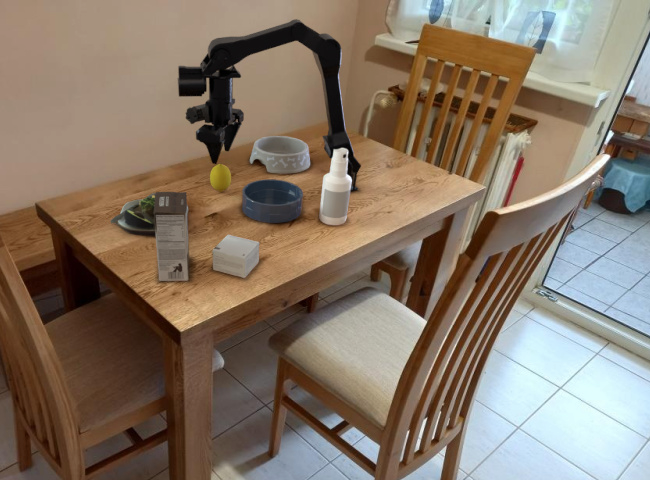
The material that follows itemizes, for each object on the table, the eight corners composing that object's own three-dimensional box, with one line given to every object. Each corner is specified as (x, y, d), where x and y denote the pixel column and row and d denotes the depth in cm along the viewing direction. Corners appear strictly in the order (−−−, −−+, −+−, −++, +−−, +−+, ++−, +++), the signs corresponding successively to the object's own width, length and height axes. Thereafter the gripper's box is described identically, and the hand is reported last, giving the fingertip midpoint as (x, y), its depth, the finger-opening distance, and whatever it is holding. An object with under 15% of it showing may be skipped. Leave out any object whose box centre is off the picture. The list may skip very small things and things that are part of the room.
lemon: (228, 197, 152) (228, 169, 148) (207, 195, 153) (207, 166, 148) (233, 189, 157) (233, 161, 152) (213, 186, 158) (213, 158, 153)
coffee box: (160, 258, 127) (155, 190, 117) (189, 258, 127) (187, 190, 118) (158, 281, 119) (152, 211, 110) (189, 281, 120) (186, 211, 110)
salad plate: (124, 198, 150) (122, 181, 147) (193, 200, 150) (192, 184, 147) (107, 235, 134) (105, 217, 132) (184, 237, 134) (183, 220, 132)
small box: (259, 261, 127) (260, 241, 124) (244, 279, 121) (245, 258, 118) (228, 253, 129) (228, 233, 126) (211, 270, 124) (211, 249, 121)
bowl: (286, 193, 156) (287, 176, 153) (311, 218, 144) (313, 200, 141) (233, 201, 151) (233, 183, 148) (255, 228, 139) (256, 209, 136)
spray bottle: (328, 228, 141) (337, 157, 130) (313, 216, 145) (320, 147, 135) (351, 222, 143) (361, 153, 133) (336, 211, 148) (344, 143, 138)
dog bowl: (279, 146, 183) (280, 129, 180) (322, 164, 173) (323, 147, 169) (238, 159, 174) (238, 142, 171) (281, 179, 163) (282, 161, 160)
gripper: (204, 82, 149) (205, 140, 158) (174, 102, 135) (177, 165, 144) (245, 87, 147) (243, 146, 156) (219, 108, 132) (219, 172, 141)
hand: (220, 157), depth 149 cm, fingers open, 9 cm apart
